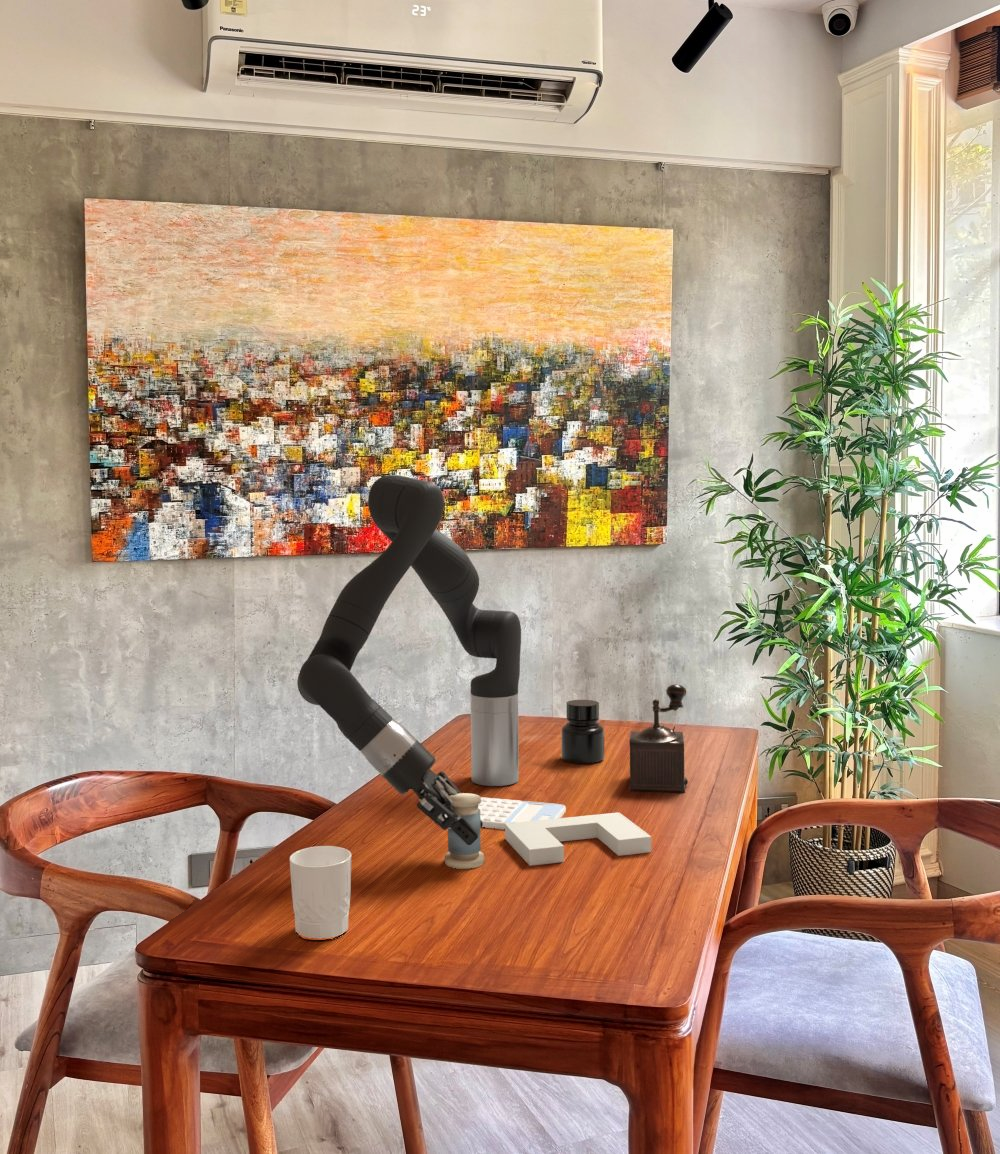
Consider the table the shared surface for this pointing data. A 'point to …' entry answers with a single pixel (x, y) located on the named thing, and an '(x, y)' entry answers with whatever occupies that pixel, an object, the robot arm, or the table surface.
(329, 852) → the white cup
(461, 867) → the disc
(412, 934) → the table surface
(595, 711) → the ink bottle
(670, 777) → the manual coffee grinder
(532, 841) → the notched board
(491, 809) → the calculator
